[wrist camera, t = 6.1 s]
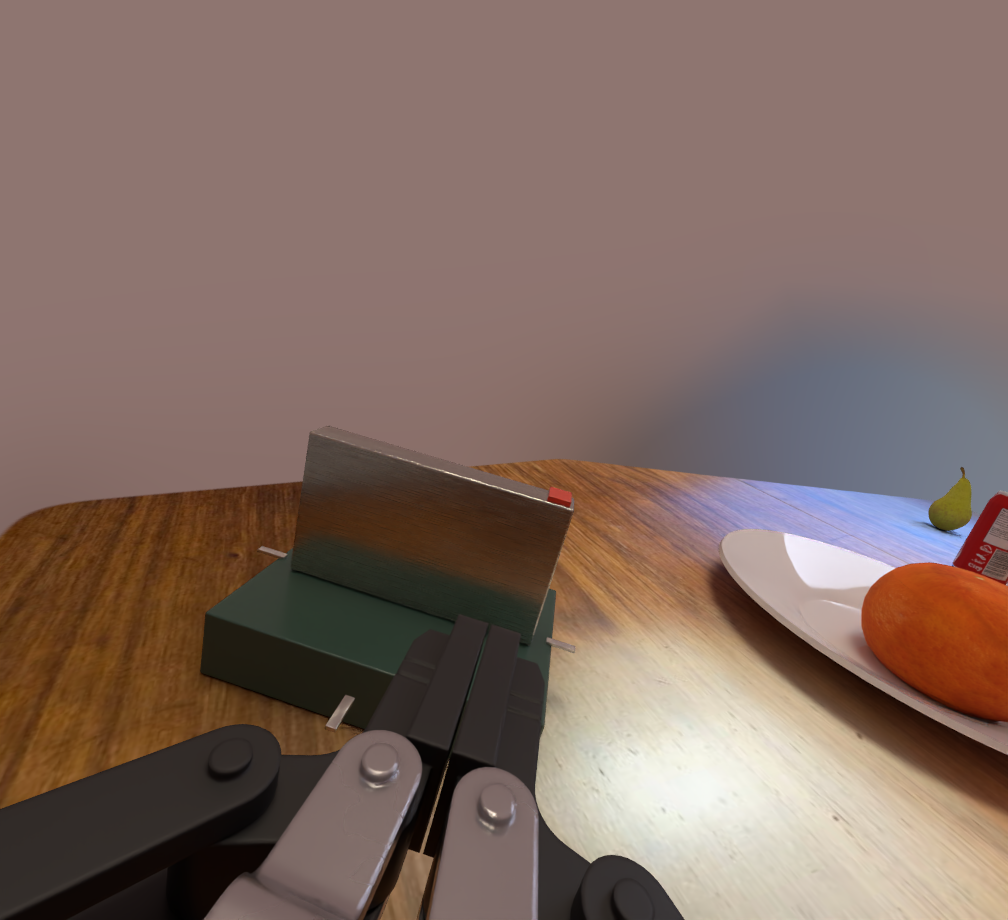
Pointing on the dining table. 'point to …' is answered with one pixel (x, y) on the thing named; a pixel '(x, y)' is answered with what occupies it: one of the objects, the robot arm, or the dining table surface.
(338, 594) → the base block
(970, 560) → the soda can
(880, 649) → the plate
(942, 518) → the fruit
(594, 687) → the dining table surface
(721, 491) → the dining table surface
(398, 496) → the upright slab
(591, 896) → the robot arm
